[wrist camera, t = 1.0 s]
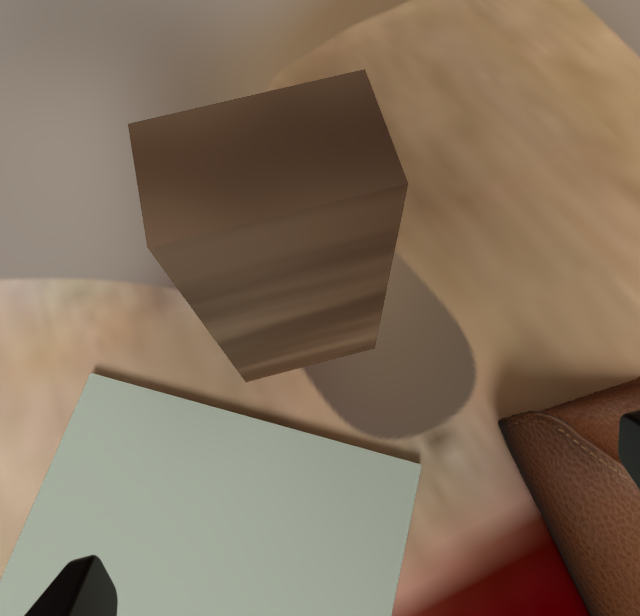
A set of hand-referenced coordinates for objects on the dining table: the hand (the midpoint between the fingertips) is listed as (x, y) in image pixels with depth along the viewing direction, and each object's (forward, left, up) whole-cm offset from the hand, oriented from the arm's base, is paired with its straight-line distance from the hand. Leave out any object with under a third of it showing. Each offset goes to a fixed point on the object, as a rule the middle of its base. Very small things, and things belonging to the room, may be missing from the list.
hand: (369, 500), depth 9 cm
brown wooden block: (+7, +4, -14) cm, 16 cm away
